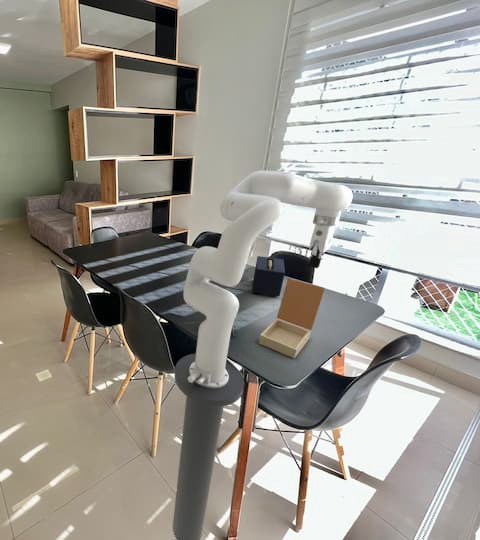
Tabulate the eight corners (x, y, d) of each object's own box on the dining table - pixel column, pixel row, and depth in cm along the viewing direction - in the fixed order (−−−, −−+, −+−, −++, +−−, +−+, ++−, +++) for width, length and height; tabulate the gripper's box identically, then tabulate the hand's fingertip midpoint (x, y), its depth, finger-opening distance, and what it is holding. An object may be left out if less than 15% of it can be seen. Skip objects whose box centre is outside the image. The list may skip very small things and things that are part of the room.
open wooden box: (294, 358, 102) (296, 349, 100) (258, 343, 110) (259, 334, 109) (308, 339, 112) (311, 331, 111) (274, 326, 121) (276, 318, 119)
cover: (324, 287, 106) (325, 287, 106) (288, 278, 114) (288, 277, 115) (311, 330, 110) (311, 330, 111) (276, 318, 119) (277, 317, 119)
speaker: (253, 279, 166) (257, 254, 161) (278, 283, 161) (283, 257, 155) (251, 294, 148) (256, 267, 143) (279, 299, 143) (285, 271, 137)
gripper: (332, 225, 98) (319, 274, 105) (343, 218, 107) (330, 264, 114) (307, 221, 103) (296, 269, 110) (319, 215, 112) (308, 259, 119)
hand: (313, 266), depth 112 cm, fingers closed
